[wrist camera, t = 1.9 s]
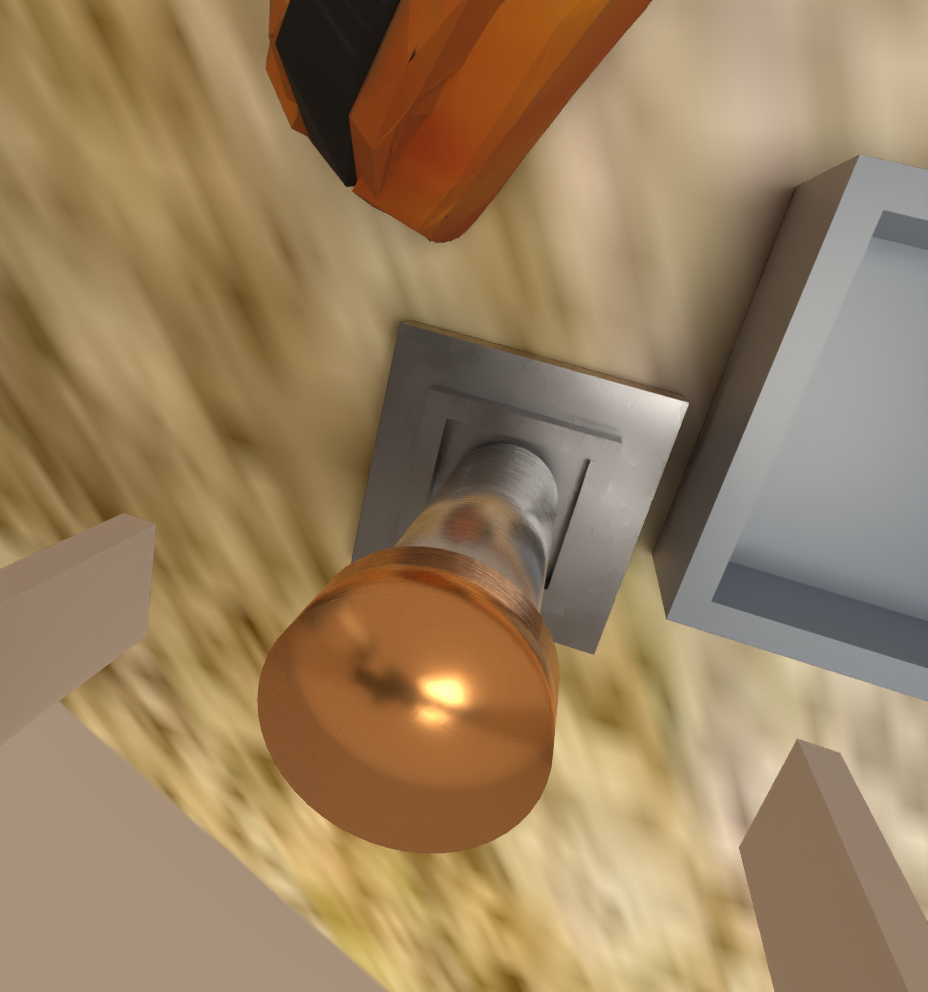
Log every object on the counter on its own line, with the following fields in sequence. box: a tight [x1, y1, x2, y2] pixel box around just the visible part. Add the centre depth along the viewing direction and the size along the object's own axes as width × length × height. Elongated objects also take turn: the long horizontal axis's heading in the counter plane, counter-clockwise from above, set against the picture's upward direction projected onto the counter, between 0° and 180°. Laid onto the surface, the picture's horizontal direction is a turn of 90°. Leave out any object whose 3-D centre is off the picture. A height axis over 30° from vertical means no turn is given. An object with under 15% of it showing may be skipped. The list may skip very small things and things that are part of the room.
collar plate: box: [351, 321, 689, 655], centre depth 23 cm, size 10×10×2 cm
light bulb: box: [257, 443, 559, 853], centre depth 17 cm, size 5×5×13 cm
